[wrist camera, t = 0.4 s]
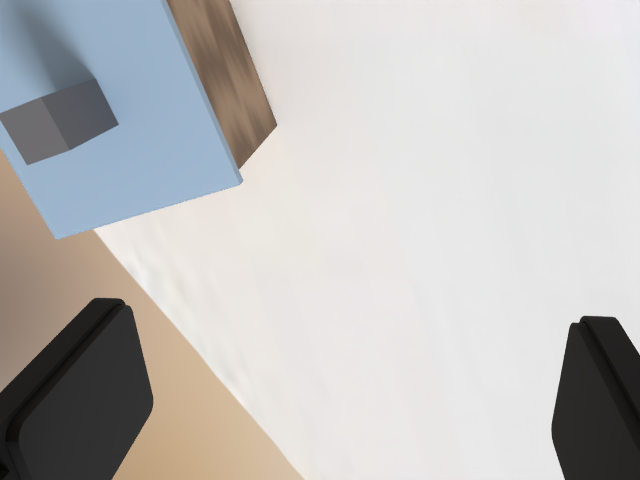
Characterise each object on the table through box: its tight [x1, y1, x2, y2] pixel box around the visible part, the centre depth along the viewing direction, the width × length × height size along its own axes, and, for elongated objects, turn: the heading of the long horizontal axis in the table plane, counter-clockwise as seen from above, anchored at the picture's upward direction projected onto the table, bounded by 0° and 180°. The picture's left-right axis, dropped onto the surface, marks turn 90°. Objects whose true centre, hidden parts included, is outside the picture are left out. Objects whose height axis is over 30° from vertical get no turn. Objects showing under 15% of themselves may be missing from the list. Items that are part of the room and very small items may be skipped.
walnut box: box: [166, 0, 277, 169], centre depth 40 cm, size 14×14×13 cm
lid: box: [0, 0, 243, 240], centre depth 31 cm, size 15×15×6 cm
